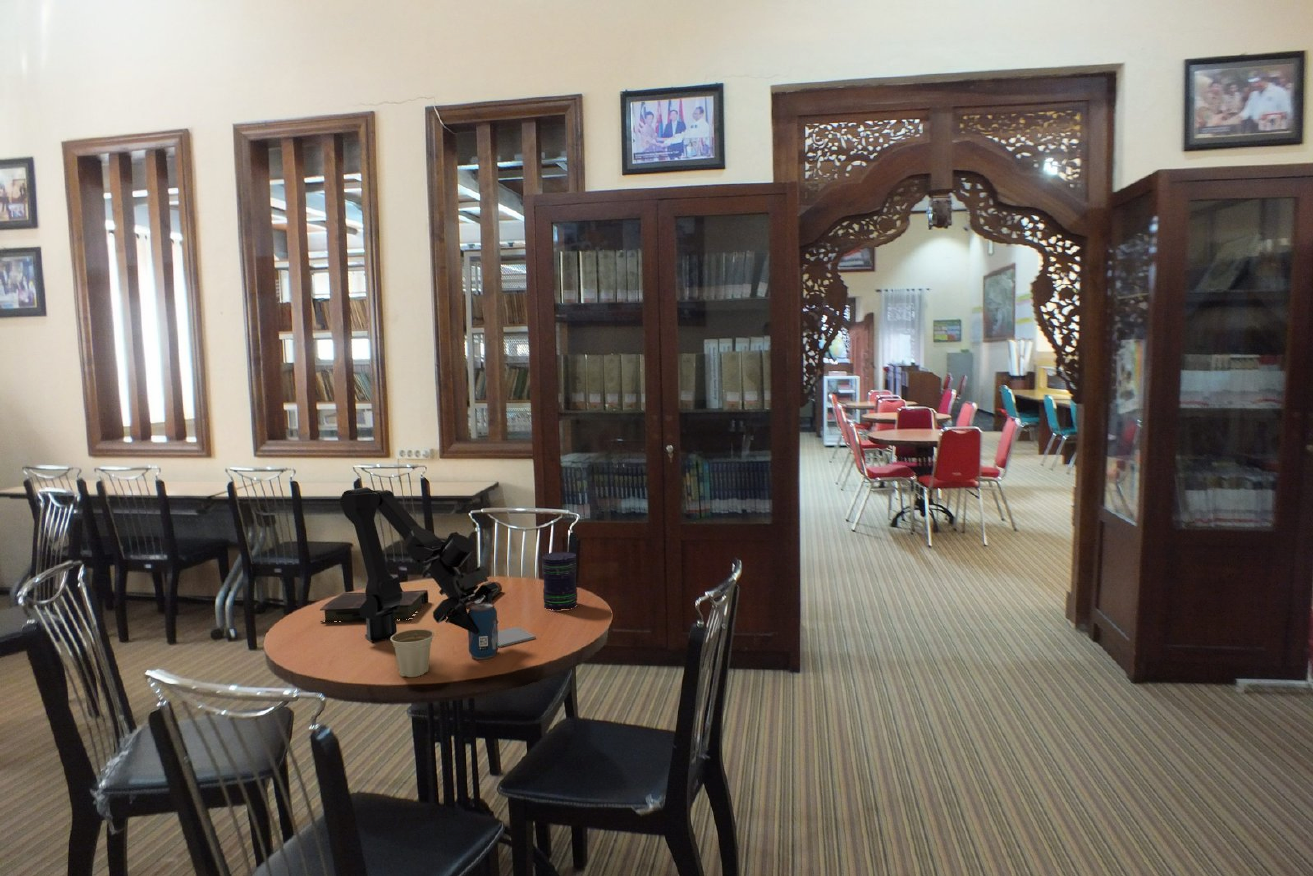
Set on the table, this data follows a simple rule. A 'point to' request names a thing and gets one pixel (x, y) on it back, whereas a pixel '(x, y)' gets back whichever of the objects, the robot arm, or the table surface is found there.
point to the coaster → (513, 636)
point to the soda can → (483, 631)
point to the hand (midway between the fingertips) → (487, 628)
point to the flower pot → (412, 651)
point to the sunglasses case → (493, 595)
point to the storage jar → (559, 580)
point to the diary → (349, 603)
